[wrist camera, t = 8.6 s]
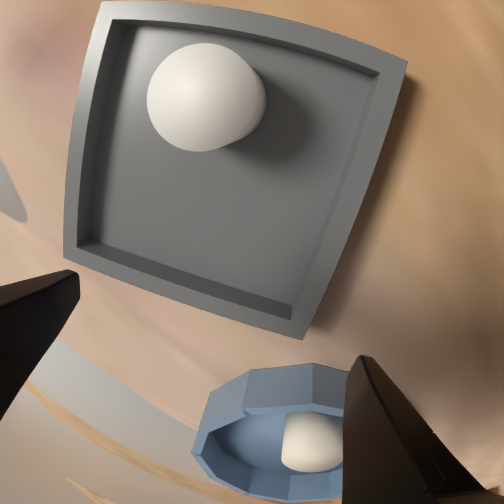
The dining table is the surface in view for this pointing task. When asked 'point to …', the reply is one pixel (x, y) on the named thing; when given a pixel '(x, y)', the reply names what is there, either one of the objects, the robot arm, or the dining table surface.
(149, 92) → the pebble grey
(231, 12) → the parts tray
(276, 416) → the glazed bowl
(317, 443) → the pebble sand
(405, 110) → the dining table surface
